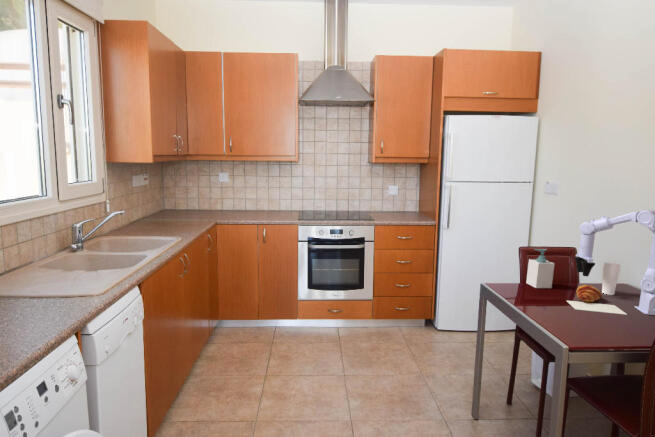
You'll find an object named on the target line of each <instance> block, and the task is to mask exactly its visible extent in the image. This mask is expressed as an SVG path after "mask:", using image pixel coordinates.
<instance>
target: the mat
mask: <svg viewBox="0 0 655 437" xmlns="http://www.w3.org/2000/svg"><path fill="white" fill-rule="evenodd" d="M565 301H566V302H567V303H568V304H569V305H571V307H572V308H574V310H576V311H584V312H585V311H587V312H595V313H596V312H597V313H606V314H616V315H625V316H627V315H628V314H627V313H626V312H625V311H624V310H622V309H620V308H619V307H618V306H616V305H614V304H606V303H604V304H603V303H594V302H586V301H578V300H577V301H576V300H565Z"/></svg>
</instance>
